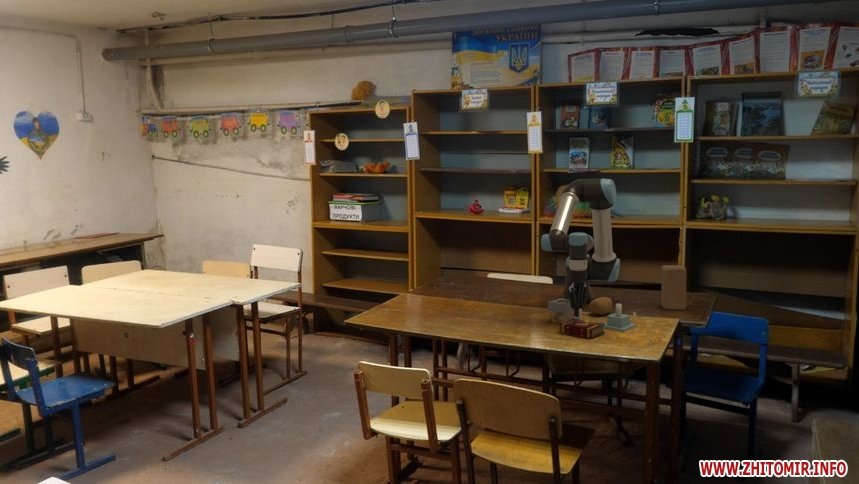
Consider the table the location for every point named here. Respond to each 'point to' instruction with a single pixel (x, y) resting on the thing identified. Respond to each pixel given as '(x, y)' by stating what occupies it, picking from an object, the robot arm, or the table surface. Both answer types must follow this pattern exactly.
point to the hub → (619, 320)
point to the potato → (601, 305)
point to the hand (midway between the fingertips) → (578, 323)
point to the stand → (562, 316)
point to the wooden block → (673, 287)
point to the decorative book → (582, 328)
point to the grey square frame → (560, 306)
